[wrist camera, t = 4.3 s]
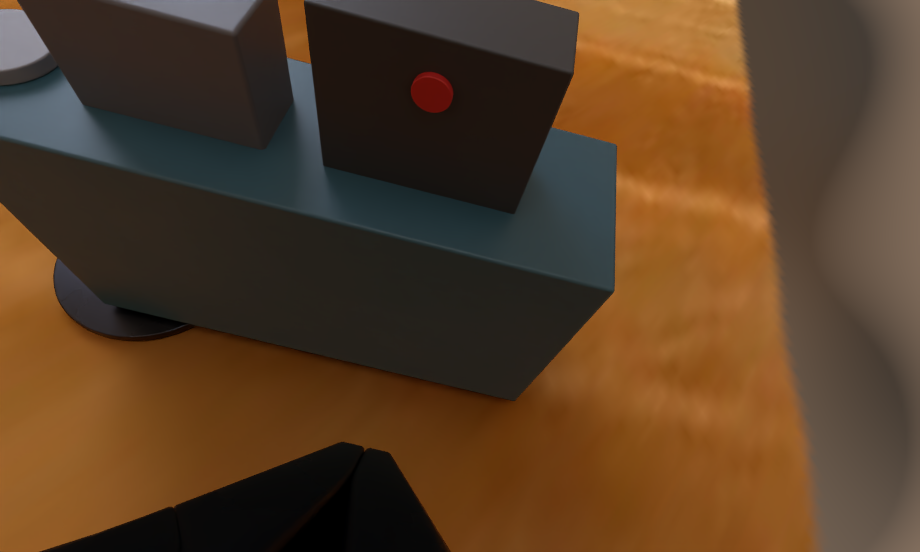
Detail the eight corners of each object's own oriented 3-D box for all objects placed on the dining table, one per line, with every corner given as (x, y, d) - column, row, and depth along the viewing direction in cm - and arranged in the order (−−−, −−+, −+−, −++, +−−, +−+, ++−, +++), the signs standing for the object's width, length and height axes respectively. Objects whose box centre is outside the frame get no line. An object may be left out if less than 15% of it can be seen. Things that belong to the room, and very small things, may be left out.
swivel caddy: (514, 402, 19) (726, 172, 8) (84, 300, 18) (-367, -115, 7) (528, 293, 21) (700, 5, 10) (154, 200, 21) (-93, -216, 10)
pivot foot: (202, 360, 18) (199, 356, 18) (16, 316, 18) (9, 311, 18) (273, 219, 22) (272, 213, 22) (120, 180, 22) (116, 174, 21)
